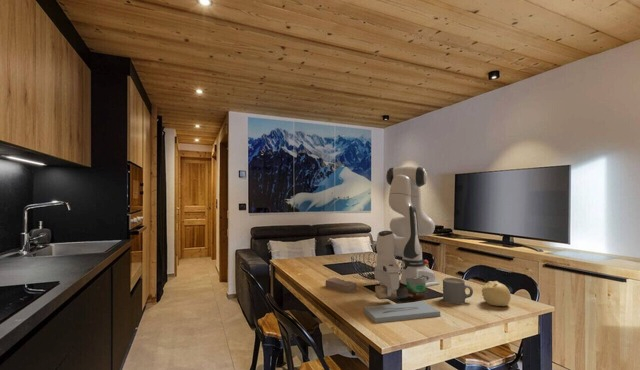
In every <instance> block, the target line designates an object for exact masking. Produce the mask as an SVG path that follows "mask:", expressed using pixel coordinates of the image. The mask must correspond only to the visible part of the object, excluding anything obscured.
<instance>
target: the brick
mask: <svg viewBox="0 0 640 370" xmlns="http://www.w3.org/2000/svg"><path fill="white" fill-rule="evenodd" d="M357 285H358V284H357V282H353V281H350V280H345V279H341V278H339V277H336V276H334V277H330V278H328V279H325V287H326V288H327V289H329V290H335V291H337V292H342V293H347V294H351V293H353V292H356V291H357V290H358V289H357V288H358V287H357Z"/></svg>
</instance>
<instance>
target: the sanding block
mask: <svg viewBox="0 0 640 370" xmlns="http://www.w3.org/2000/svg"><path fill="white" fill-rule="evenodd" d="M374 290H375V291H374V293H375V295H374V296H375V298H377V299H378V300H385V299H386V300H387V299H396V298H398V297H397V290H398V289H397V290H392V292H391V296H388V295H386V294H387V293H386V291H387V290H388V289H387V286H385V285H382V286H380V285H375V289H374Z"/></svg>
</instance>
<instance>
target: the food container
mask: <svg viewBox="0 0 640 370" xmlns="http://www.w3.org/2000/svg"><path fill="white" fill-rule="evenodd" d="M406 282H407V285H406V290H407V297H408V298H409V299H417V300H418V299H424V298H425V295H426V286H425V284H426V282H427V278H426V276H424V275H422V277H414V278H407V277H406Z"/></svg>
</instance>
